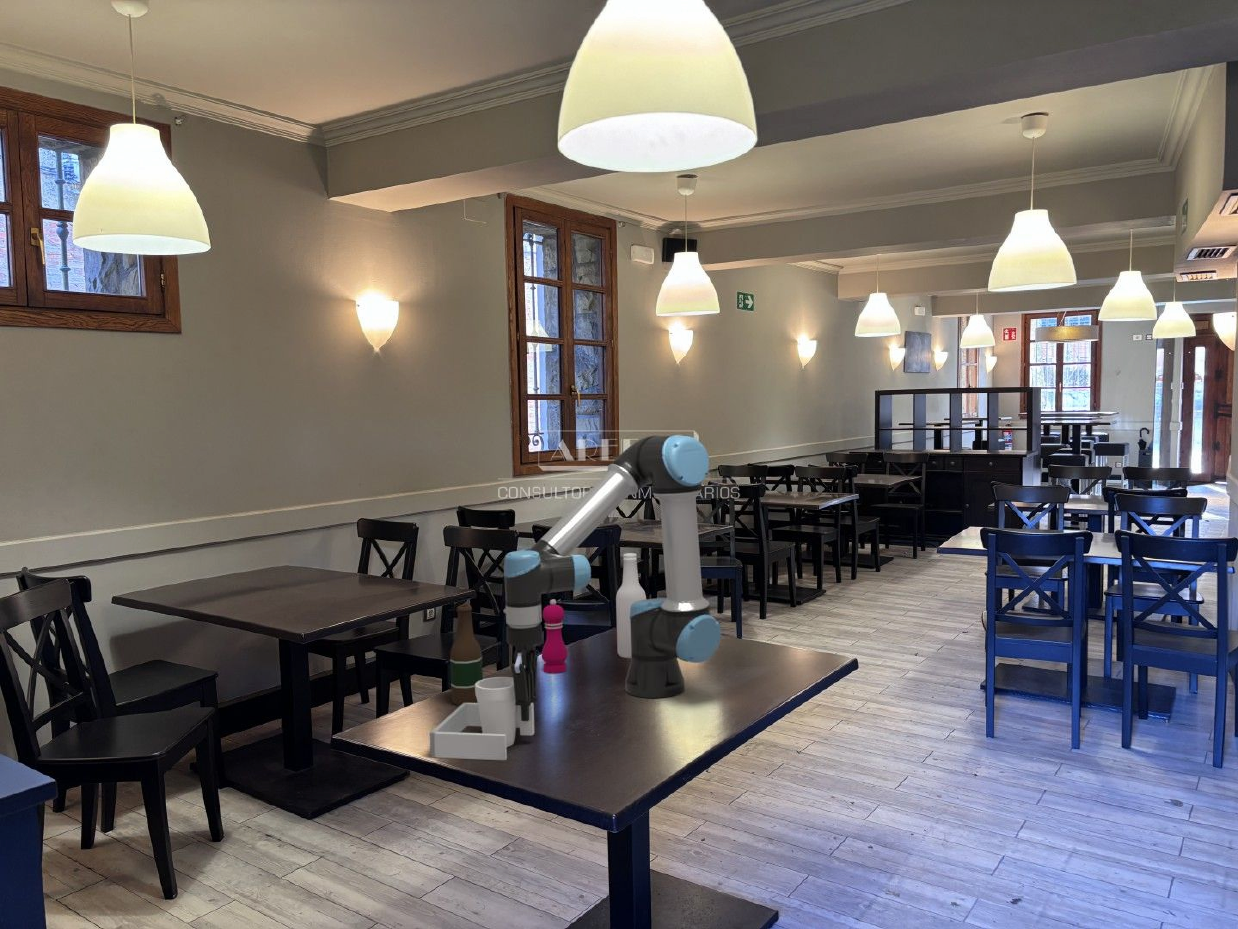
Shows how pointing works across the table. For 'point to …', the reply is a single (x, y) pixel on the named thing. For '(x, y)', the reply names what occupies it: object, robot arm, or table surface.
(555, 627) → the pepper mill
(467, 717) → the box
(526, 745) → the table surface
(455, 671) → the beer bottle
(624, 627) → the alcohol
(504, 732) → the foam cup
